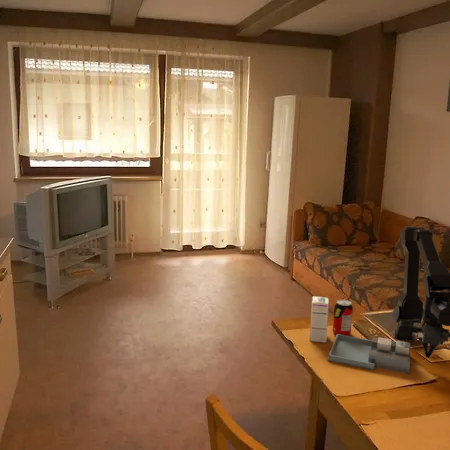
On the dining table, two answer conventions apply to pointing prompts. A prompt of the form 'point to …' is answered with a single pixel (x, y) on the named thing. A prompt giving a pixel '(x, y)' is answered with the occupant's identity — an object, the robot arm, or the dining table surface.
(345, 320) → the beverage can
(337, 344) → the tray
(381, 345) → the brushed metal cube
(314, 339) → the syrup box
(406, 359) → the slot plate
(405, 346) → the grey cubic piece
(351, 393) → the dining table surface
